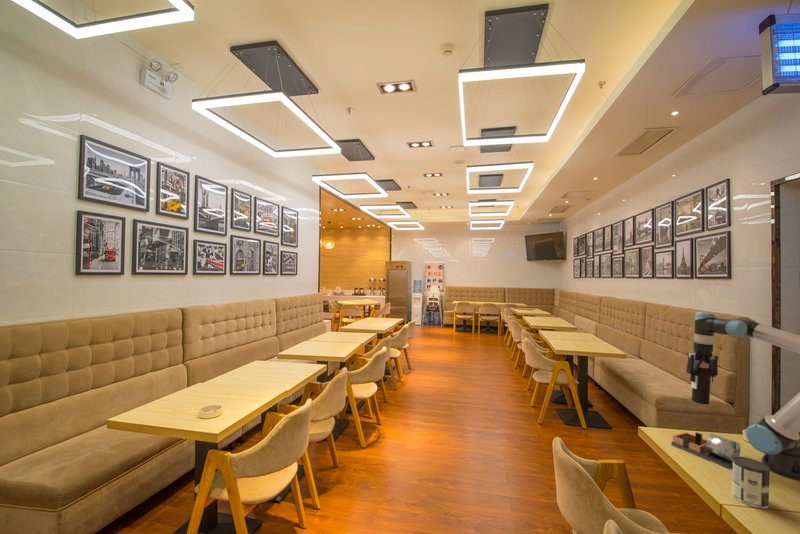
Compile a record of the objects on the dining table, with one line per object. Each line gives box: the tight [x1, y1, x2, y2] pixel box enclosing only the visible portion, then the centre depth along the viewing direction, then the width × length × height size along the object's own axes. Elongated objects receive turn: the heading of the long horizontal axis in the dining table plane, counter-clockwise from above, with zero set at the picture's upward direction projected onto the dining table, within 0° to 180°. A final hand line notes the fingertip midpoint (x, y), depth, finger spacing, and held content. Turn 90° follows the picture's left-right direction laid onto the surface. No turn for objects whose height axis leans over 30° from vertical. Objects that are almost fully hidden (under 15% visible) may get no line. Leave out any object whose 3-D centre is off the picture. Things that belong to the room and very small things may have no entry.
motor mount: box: [670, 432, 741, 469], centre depth 170 cm, size 23×13×10 cm, turn 25°
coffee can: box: [731, 456, 771, 510], centre depth 135 cm, size 10×10×14 cm
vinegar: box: [691, 362, 711, 405], centre depth 178 cm, size 7×7×20 cm
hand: (701, 388), depth 178 cm, fingers closed on vinegar, 6 cm apart
